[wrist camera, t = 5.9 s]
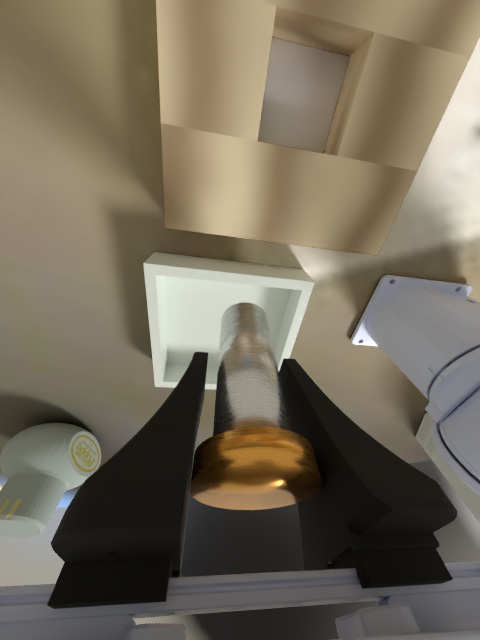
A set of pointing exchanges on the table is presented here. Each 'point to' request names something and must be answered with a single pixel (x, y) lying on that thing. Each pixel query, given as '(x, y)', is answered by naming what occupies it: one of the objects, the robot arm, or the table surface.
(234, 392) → the pin
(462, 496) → the supplement box
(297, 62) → the table surface
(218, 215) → the pin plate
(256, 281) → the tray
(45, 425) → the air freshener
